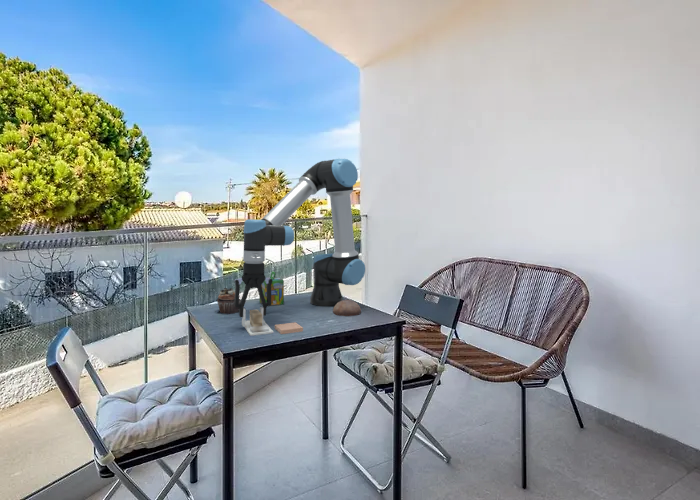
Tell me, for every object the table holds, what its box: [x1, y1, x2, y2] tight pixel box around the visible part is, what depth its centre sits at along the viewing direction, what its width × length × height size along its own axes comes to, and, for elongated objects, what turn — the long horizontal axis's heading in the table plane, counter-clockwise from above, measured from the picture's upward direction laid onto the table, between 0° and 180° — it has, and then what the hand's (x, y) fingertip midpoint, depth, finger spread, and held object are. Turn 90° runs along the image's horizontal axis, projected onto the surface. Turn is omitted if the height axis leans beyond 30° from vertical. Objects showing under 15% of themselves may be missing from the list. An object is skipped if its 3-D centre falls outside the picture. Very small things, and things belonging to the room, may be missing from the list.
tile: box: [274, 322, 304, 335], centre depth 147 cm, size 8×2×8 cm
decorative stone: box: [332, 299, 362, 317], centre depth 172 cm, size 12×12×6 cm
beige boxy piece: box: [249, 308, 269, 333], centre depth 147 cm, size 6×13×5 cm, turn 24°
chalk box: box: [259, 271, 285, 306], centre depth 187 cm, size 9×9×15 cm
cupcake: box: [216, 287, 241, 315], centre depth 172 cm, size 10×10×10 cm
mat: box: [244, 319, 274, 337], centre depth 149 cm, size 8×18×1 cm, turn 24°
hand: (252, 325), depth 149 cm, fingers open, 6 cm apart
